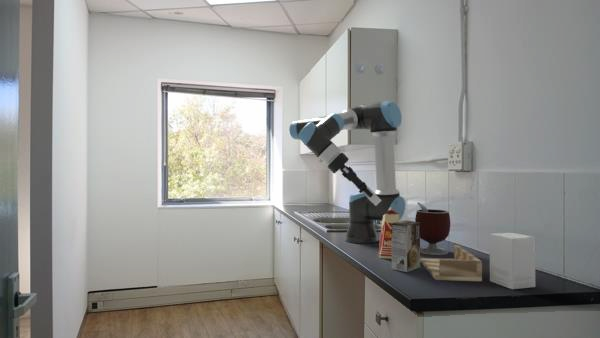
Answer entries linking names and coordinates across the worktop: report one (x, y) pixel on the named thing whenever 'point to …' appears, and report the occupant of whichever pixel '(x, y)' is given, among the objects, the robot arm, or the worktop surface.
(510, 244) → the supplement box
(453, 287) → the worktop surface
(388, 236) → the milk carton
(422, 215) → the mate gourd
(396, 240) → the coffee box
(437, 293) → the worktop surface
